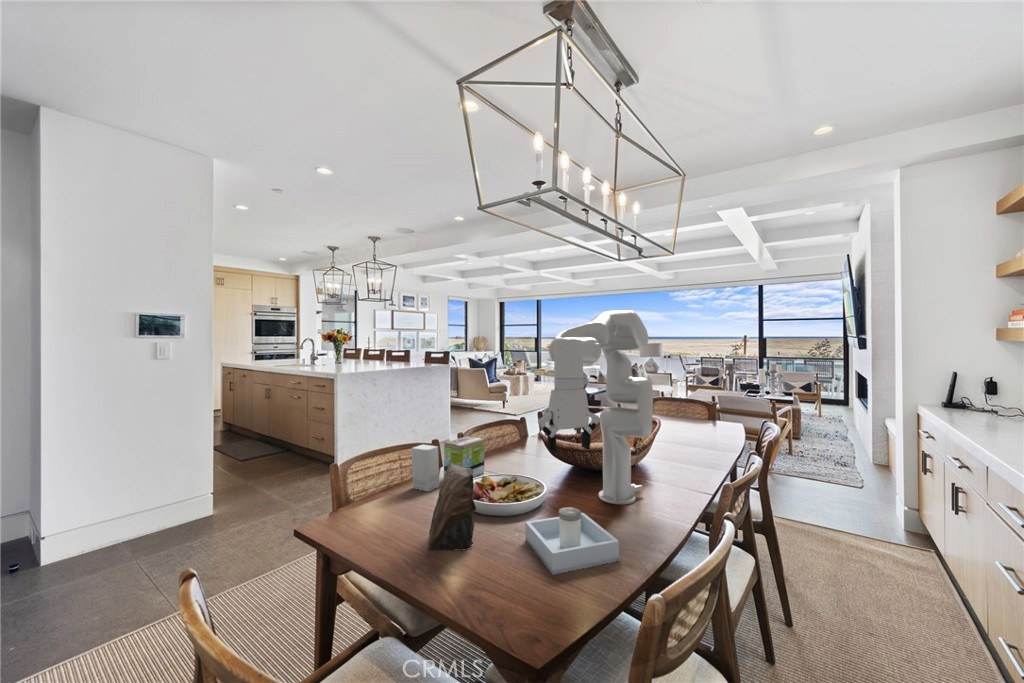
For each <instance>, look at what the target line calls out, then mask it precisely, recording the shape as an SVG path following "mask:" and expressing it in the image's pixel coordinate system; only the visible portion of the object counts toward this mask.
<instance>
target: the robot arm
mask: <svg viewBox="0 0 1024 683" xmlns="http://www.w3.org/2000/svg"><path fill="white" fill-rule="evenodd" d="M648 343H649V334H648V330H647V328H646V326H645V324H644V323H643V321H642V318H641V317H640V316H639V315H638V314H637V313H636V312H635V311H633V310H631V309H630V310H628V309H627V310H626V309H625V310H606V311H602V312H600V313H598V314H597V315H596V316H595V317H594V318H592V319H591V320H590V321H589V322H588V323H584V324H580V325H578V326H574V327H571V328H568V329H566V330H563V331H561V332H560V333H558V334H557V335H556V336H555V337H554V338H553V339H552V341H551V343H550V346H549V350H548V351H549V352H548V353H549V357H550V359H551V360H552V361H553V363H554V366H553V368H554V372H553V373H554V383H553V384H554V389H551V392H550V396H549V402H548V411H547V412H548V413H547V414H545V415H544V416H541V417H540V418H538V420H537V423H538V426H539V427H540V429H541V431H542V432H543V433H544V434H545V435H546V436H547V449H548V451H549V452H551V453H553V454H555V453H557V437H555V435H556V434H557V433H558V432H559V430H570V429H572V430H573V429H582V432H581V447H582V448H583V449H585V450H590V448H591V447H590V446H591V444H592V443H591V442H592V441H591V435H592V434H593V431H594V430H595V428H596V427H597V424H598V421H599V425H600V430H601V436H602V437H601V438H602V490H600V491H599V492H598V498H599V499H600V500H601V501H603V502H604V503H605V502H606V503H608V504H612V505H629V504H632V503H633V504H634V502H636V499H637V497H636V494H635V493H636V492H642V491H644V487H643V485H642V484H639V485H638V484H637V485H636V484H635V483H632V454H631V453H632V450H631V446H630V444H629V442H628V440H627V439H626V437H631V438H640V439H644V438H648V437H649V436H650V435H651V434H652V430H653V428H652V427H653V413H654V411H653V409H654V389H653V388H654V387H653V384H652V382H651V381H650V379H648V378H646V377H642V376H641V377H639V376H637V377H636V376H632V367H633V366H632V361H631V359H630V357H628V354H626V353H625V352H624V351H643V350H644V349H646V348H647V346H648ZM602 353H603V355H604V358H605V361H606V378H605V380H606V382H605V384H606V386H605V396H606V399H607V400H608V402H610V403H614V404H621V405H635V406H637V408H629V407H618V406H610V407H609V406H608V407H606V408H604V409H603V410H601V412H600V413H599V415H597V414H596V413H593V412H592V411H590V410H589V402H588V401H589V400H588V395H587V392H586V389H584V388H585V385H588V380H587V379H585V378H584V365H591V364H595V363H596V362H598V361H599V359H600V357H601V355H602ZM590 418H591V420H590ZM546 423H547V424H548V425H549V427H547V424H546Z"/></svg>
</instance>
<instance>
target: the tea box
mask: <svg viewBox="0 0 1024 683" xmlns="http://www.w3.org/2000/svg"><path fill="white" fill-rule="evenodd" d="M485 446H486V443H485V438H482V437H474V436H469V435H467V436H463V437H460V438H457V439H453V440H448V441H445V442H444V447H443V450H444V451H443V478H444V477H445V474H446V471H447V469H448V466H449V463H454V464H456V465H457V466H460V467H465V468H471V469H472V470H473V478H475V477H478V476H480V475H482V473H483V474H484V473H485V452H486V451H485ZM479 474H480V475H479ZM477 475H478V476H477Z"/></svg>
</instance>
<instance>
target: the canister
mask: <svg viewBox="0 0 1024 683" xmlns="http://www.w3.org/2000/svg"><path fill="white" fill-rule="evenodd" d="M581 513H582V512H581V510H580V509H579V508H576V507H570V506H568V507H567V506H566V507H562V508H560V509H559V510H558V517H559V539H560V548H561V549H567V548H572V547H578V546H581Z"/></svg>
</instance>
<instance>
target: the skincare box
mask: <svg viewBox="0 0 1024 683" xmlns="http://www.w3.org/2000/svg"><path fill="white" fill-rule="evenodd" d="M439 463H440V462H439V446H437V445H436V446H435V445H430V444H419V445H417V446H414V447H411V470H412V472H411V473H412V489H413V488H415V489H414V490H417V489H419V491H422V490H423V491H424V492H426V491H427V492H426V493H429V492H431V490H432V491H434V490H436V489H439V488H440V469H439V468H440V467H439ZM435 488H436V489H435ZM433 489H434V490H433Z"/></svg>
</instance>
